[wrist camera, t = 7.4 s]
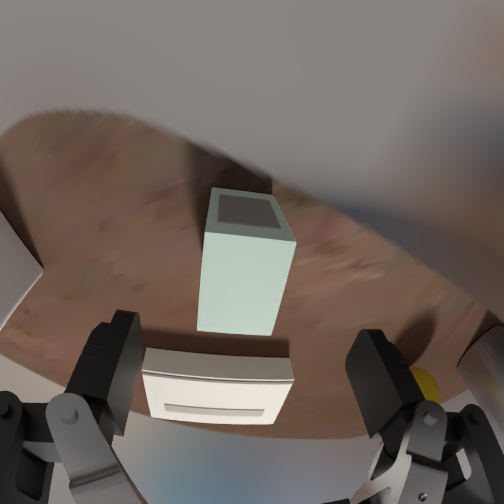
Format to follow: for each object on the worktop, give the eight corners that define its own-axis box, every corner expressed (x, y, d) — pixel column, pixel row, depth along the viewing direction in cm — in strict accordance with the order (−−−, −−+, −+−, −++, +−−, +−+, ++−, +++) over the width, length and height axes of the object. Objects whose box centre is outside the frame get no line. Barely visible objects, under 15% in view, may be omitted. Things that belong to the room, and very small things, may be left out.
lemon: (394, 387, 29) (417, 439, 22) (369, 380, 27) (393, 440, 20) (428, 358, 27) (458, 410, 20) (406, 347, 25) (440, 407, 18)
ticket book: (289, 357, 23) (294, 380, 21) (270, 405, 27) (273, 424, 25) (146, 347, 22) (141, 370, 19) (154, 397, 25) (151, 417, 23)
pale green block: (273, 193, 16) (297, 240, 11) (258, 269, 19) (271, 335, 13) (212, 186, 16) (205, 230, 11) (203, 263, 18) (196, 330, 13)
